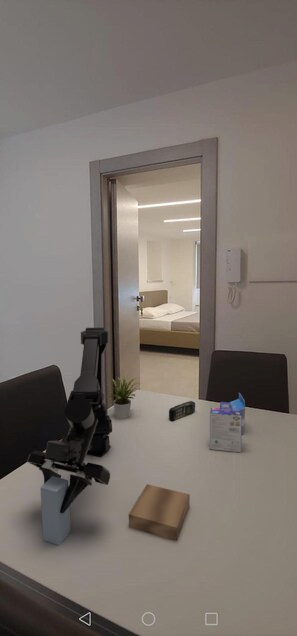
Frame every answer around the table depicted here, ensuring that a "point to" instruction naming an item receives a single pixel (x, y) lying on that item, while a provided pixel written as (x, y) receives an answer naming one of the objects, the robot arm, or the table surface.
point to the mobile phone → (181, 410)
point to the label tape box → (239, 405)
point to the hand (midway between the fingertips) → (52, 510)
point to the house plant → (122, 398)
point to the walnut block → (160, 512)
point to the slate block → (54, 510)
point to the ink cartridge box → (225, 428)
